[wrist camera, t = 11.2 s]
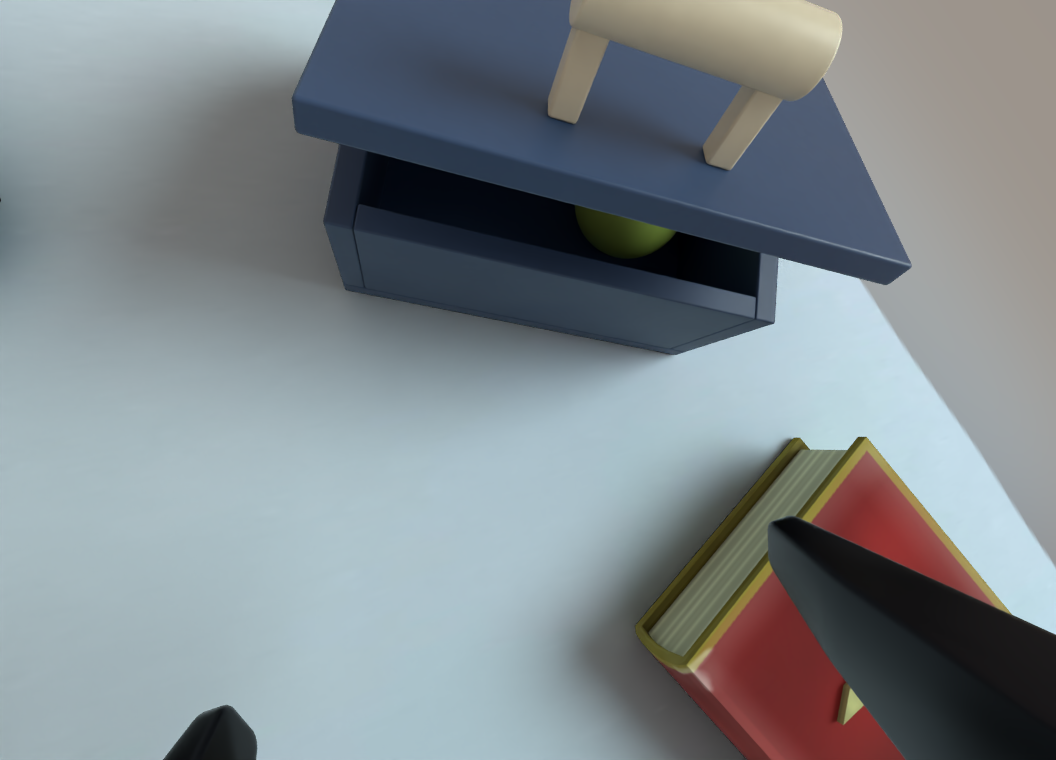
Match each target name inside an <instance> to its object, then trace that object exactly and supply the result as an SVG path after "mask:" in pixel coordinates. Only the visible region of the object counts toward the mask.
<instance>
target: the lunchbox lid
mask: <svg viewBox="0 0 1056 760" xmlns="http://www.w3.org/2000/svg"><path fill="white" fill-rule="evenodd" d="M841 36H842V22H841V19H840V17H839V16H838V15H837V14H836V13H835V12H832V11H830V10H827V9H825V8H822V7H820V6H817V5H815V4H812V3H810V2H807V1H805V0H336V1H335V3H334V5H333V7H332V10H331V12H330V14H329V16H328V18H327V21H326V23H325V25H324V27H323V29H322V32H321V34H320V36H319V38H318V40H317V43H316V45H315V47H314V49H313V51H312V54H311V56H310V58H309V60H308V63H307V65H306V67H305V69H304V71H303V74H302V76H301V78H300V80H299V82H298V85H297V87H296V89H295V91H294V93H293V96H292V106H293V115H294V124H295V129H296V131H297V132H298V133H300V134H304V135H307V136H311V137H315V138H319V139H323V140H327V141H331V142H334V143H338V144H342V145H346V146H350V147H354V148H358V149H361V150H365V151H369V152H373V153H377V154H381V155H385V156H388V157H392V158H396V159H400V160H404V161H408V162H412V163H416V164H419V165H423V166H427V167H431V168H435V169H439V170H443V171H446V172H450V173H454V174H458V175H462V176H466V177H470V178H473V179H477V180H481V181H485V182H489V183H493V184H497V185H500V186H504V187H508V188H512V189H516V190H520V191H524V192H528V193H531V194H535V195H539V196H543V197H547V198H551V199H555V200H558V201H562V202H566V203H570V204H574V205H578V206H582V207H585V208H589V209H593V210H597V211H601V212H605V213H609V214H612V215H616V216H620V217H624V218H628V219H632V220H636V221H639V222H643V223H647V224H651V225H655V226H659V227H663V228H667V229H670V230H674V231H678V232H682V233H686V234H690V235H694V236H697V237H701V238H705V239H709V240H713V241H717V242H721V243H724V244H728V245H732V246H736V247H740V248H744V249H748V250H751V251H755V252H759V253H763V254H767V255H771V256H775V257H779V258H782V259H786V260H790V261H794V262H798V263H802V264H806V265H809V266H813V267H817V268H821V269H825V270H829V271H833V272H836V273H840V274H844V275H848V276H852V277H856V278H860V279H863V280H867V281H871V282H875V283H879V284H883V285H888V284H890V283H891V282H892V281H894V280H895V279H896V278H898V277H899V276H901V275H902V274H903V273H905V272H906V271H907V270H909V269H910V268H911V266H912V265H911V262H910V260H909V258H908V256H907V254H906V252H905V250H904V248H903V245H902V243H901V241H900V239H899V237H898V235H897V233H896V231H895V229H894V226H893V224H892V222H891V220H890V218H889V216H888V214H887V212H886V210H885V207H884V205H883V203H882V201H881V199H880V197H879V195H878V193H877V191H876V189H875V186H874V184H873V182H872V180H871V178H870V176H869V174H868V172H867V170H866V167H865V166H864V163H863V161H862V159H861V157H860V155H859V153H858V151H857V149H856V147H855V144H854V142H853V140H852V138H851V136H850V134H849V132H848V130H847V128H846V125H845V123H844V121H843V119H842V117H841V115H840V113H839V111H838V108H837V107H836V104H835V102H834V100H833V98H832V96H831V94H830V92H829V90H828V88H827V85H826V83H825V81H824V79H823V76H824V75H825V73H826V72H827V70H828V68H829V67H830V65H831V63H832V61H833V59H834V57H835V55H836V52H837V50H838V47H839V43H840V40H841Z"/></svg>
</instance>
